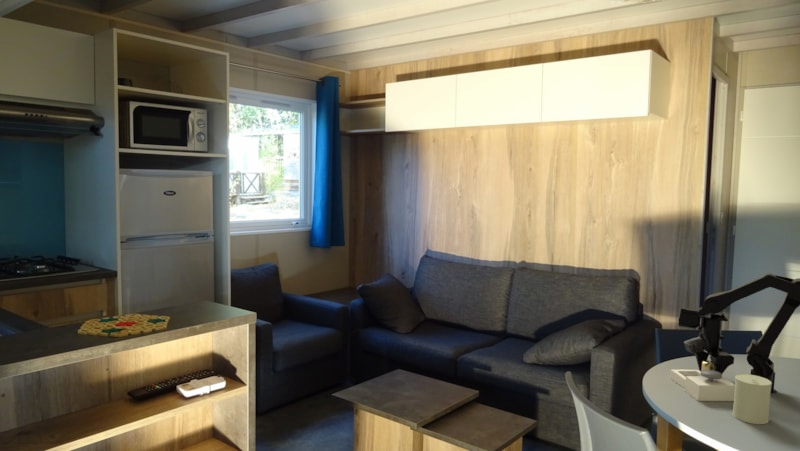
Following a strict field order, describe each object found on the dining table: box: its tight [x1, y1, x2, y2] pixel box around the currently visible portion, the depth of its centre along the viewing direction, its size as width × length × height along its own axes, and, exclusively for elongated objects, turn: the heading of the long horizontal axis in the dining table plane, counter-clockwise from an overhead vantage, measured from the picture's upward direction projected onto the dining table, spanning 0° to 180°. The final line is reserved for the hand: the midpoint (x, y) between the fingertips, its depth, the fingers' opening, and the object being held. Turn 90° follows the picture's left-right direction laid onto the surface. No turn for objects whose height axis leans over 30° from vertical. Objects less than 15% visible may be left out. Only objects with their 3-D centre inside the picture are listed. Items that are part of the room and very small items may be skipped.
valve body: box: [669, 369, 735, 402], centre depth 193 cm, size 12×20×8 cm, turn 2°
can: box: [731, 373, 772, 425], centre depth 171 cm, size 9×9×12 cm
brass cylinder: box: [701, 359, 713, 370], centre depth 202 cm, size 4×4×6 cm
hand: (708, 375), depth 203 cm, fingers open, 9 cm apart
